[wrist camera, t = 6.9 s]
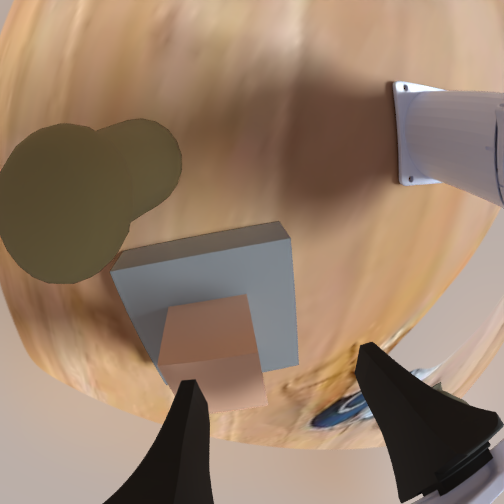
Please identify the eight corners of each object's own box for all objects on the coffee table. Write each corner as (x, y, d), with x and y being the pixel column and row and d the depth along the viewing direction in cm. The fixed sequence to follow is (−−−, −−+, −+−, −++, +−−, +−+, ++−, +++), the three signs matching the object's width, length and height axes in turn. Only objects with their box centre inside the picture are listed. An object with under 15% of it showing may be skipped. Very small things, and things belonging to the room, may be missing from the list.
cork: (140, 228, 17) (71, 344, 7) (79, 172, 15) (-40, 232, 5) (202, 161, 16) (176, 212, 6) (135, 99, 13) (25, 69, 4)
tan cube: (256, 349, 19) (268, 405, 14) (189, 359, 18) (187, 415, 14) (246, 293, 17) (258, 352, 12) (168, 306, 16) (157, 365, 12)
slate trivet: (279, 221, 18) (290, 238, 15) (290, 340, 23) (298, 364, 20) (123, 250, 17) (109, 271, 15) (169, 359, 22) (166, 385, 20)
